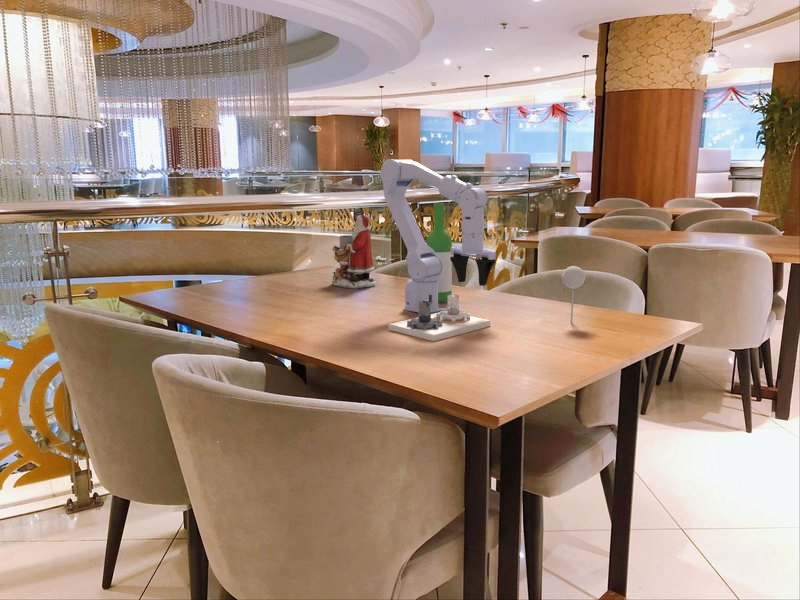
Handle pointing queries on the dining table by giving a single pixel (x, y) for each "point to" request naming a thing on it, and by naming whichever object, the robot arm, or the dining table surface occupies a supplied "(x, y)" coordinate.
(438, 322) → the crank gear
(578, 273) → the lollipop
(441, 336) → the gear board
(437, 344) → the dining table surface
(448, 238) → the wine bottle
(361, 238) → the santa figurine
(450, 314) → the aluminium gear
